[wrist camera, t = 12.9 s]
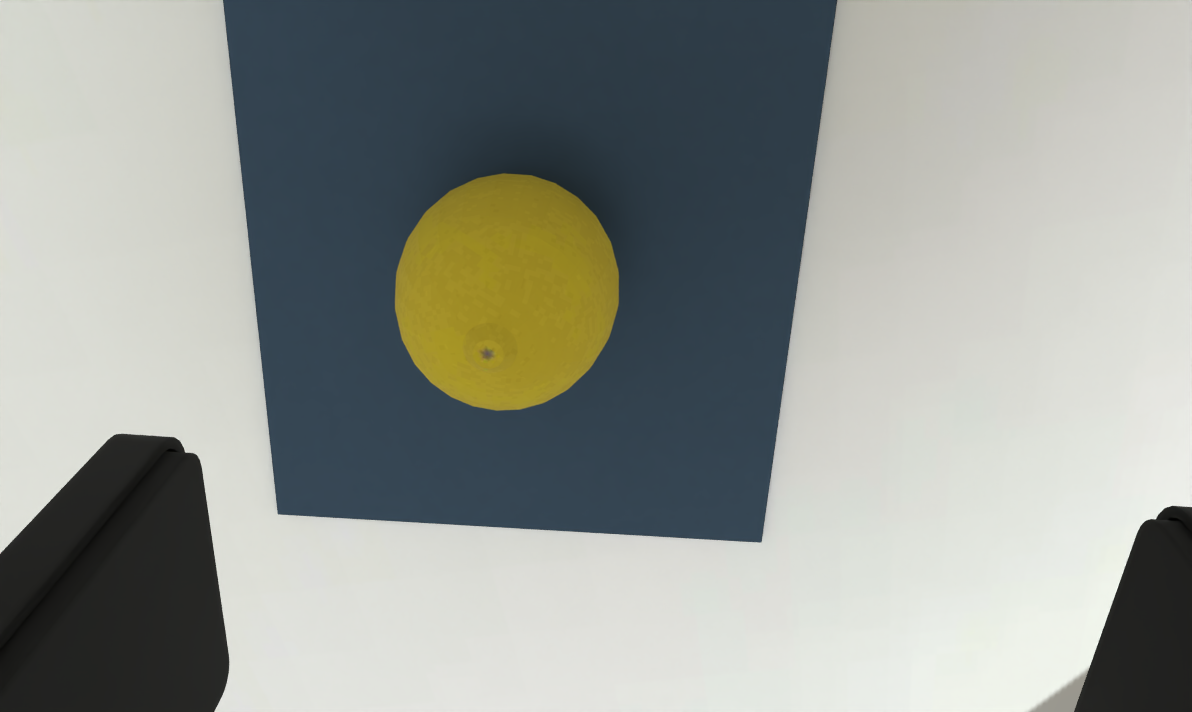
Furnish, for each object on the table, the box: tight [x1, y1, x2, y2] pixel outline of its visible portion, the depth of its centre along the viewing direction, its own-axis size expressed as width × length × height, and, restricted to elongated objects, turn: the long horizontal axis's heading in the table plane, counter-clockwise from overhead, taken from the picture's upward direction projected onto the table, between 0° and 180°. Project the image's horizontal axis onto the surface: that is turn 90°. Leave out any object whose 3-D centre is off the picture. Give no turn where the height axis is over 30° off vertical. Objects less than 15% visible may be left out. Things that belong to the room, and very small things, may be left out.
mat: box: [223, 0, 837, 542], centre depth 29 cm, size 20×16×1 cm
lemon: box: [395, 173, 619, 411], centre depth 25 cm, size 6×6×8 cm
